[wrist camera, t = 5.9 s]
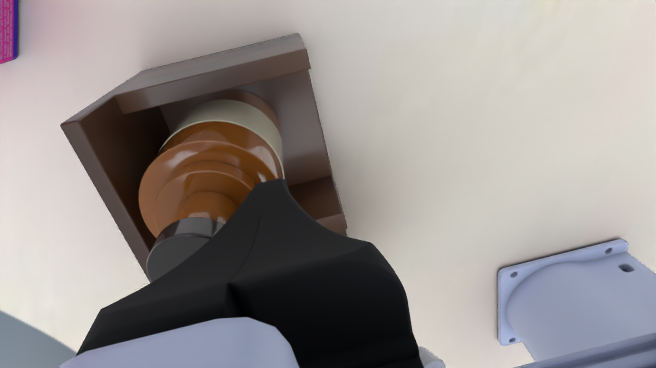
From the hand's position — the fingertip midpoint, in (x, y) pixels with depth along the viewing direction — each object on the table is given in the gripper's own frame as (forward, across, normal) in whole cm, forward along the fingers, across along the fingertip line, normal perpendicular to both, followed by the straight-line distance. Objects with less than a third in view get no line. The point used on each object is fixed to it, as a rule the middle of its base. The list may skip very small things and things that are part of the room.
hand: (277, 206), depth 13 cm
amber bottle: (+8, +2, 0) cm, 9 cm away
